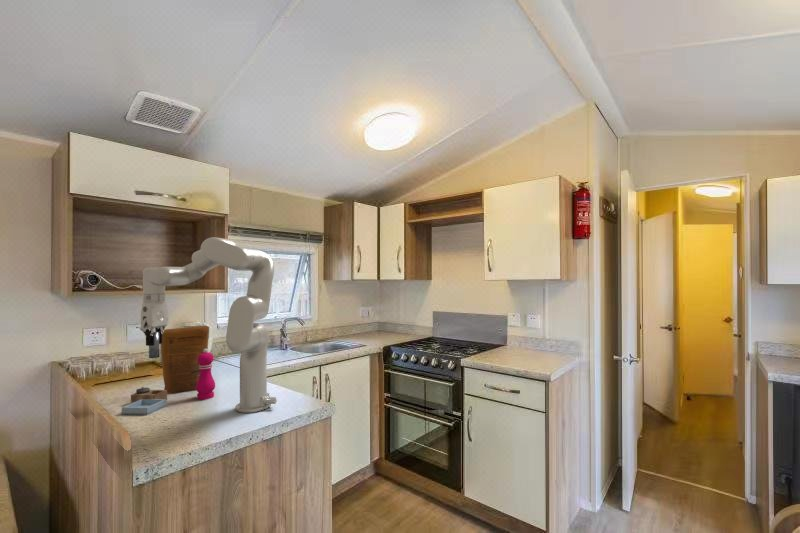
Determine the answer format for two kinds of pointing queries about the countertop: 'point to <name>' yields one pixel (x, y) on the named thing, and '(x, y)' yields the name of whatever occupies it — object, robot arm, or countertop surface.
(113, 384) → the countertop surface
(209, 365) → the pepper mill
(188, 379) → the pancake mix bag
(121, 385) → the countertop surface
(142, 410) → the tray
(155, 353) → the lock pin
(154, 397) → the tensioner block
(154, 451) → the countertop surface
